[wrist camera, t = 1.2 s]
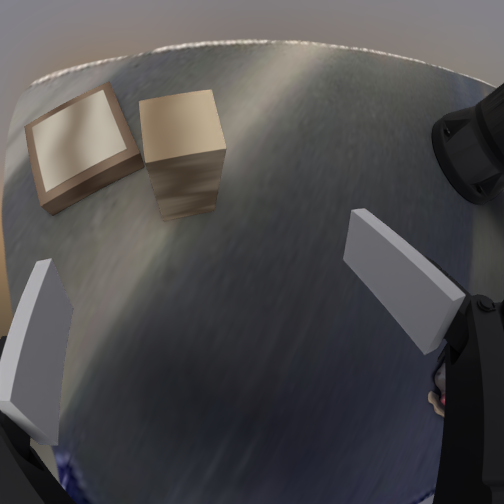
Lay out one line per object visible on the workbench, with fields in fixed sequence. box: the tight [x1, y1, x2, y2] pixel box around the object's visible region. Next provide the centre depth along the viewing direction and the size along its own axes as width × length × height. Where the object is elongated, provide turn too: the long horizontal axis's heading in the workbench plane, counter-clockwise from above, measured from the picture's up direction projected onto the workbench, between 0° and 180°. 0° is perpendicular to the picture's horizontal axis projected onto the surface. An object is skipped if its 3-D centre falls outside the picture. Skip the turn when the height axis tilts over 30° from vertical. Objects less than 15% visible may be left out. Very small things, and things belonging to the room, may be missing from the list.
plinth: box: [25, 82, 144, 216], centre depth 27 cm, size 11×11×3 cm
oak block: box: [139, 90, 226, 221], centre depth 24 cm, size 5×5×12 cm
